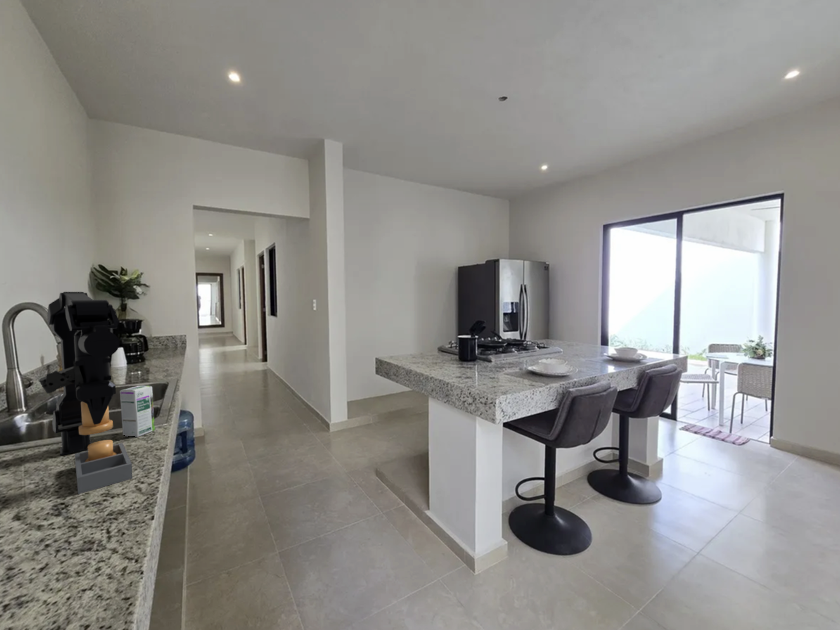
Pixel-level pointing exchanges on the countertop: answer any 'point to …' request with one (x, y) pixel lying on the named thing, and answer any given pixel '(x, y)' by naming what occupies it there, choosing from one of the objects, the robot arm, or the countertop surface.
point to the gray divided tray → (102, 466)
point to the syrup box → (137, 410)
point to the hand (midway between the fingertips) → (96, 421)
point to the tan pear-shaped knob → (89, 426)
